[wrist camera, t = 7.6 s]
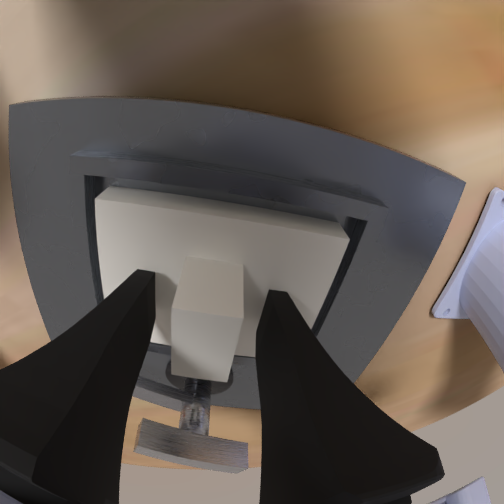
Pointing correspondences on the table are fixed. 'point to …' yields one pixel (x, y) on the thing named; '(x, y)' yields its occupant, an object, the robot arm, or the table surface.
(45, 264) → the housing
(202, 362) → the cover
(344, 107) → the table surface
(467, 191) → the table surface
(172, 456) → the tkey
